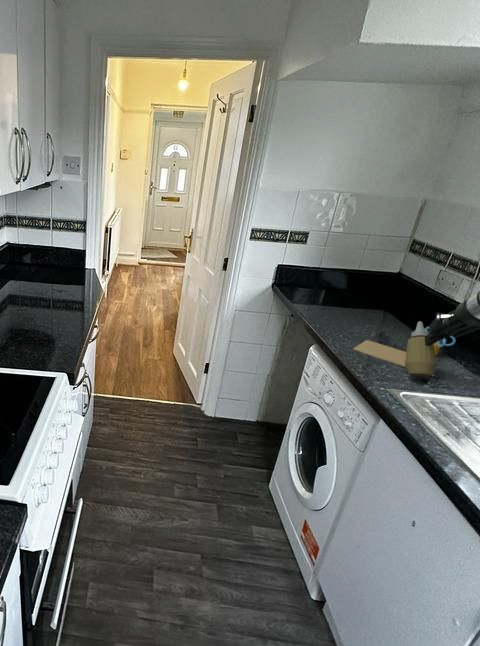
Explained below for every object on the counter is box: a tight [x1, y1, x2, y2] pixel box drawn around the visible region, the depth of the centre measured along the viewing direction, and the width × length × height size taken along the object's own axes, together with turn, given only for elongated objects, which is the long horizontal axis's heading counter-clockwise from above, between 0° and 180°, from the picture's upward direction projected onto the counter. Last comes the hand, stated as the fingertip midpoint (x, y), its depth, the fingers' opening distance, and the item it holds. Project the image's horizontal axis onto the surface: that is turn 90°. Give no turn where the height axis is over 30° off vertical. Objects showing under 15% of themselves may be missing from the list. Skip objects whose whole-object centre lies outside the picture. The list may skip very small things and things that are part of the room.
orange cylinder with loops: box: [414, 313, 457, 357], centre depth 151 cm, size 12×10×15 cm
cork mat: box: [352, 339, 406, 368], centre depth 151 cm, size 18×14×1 cm
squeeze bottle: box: [405, 321, 438, 378], centre depth 134 cm, size 8×8×18 cm
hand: (427, 341), depth 131 cm, fingers closed
